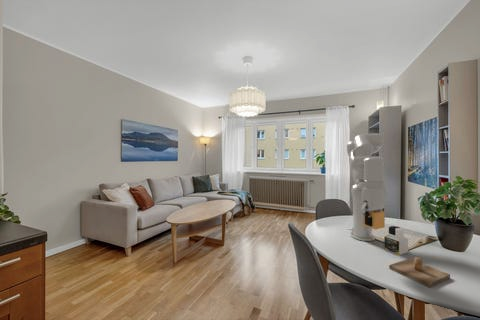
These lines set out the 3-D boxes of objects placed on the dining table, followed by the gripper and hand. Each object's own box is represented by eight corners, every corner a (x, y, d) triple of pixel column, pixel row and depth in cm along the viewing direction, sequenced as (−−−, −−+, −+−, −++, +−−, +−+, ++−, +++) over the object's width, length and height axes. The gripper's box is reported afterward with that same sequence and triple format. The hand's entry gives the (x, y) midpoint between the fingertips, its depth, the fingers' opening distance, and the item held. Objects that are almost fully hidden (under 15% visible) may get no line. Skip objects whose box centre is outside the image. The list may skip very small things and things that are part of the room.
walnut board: (389, 268, 88) (389, 254, 88) (409, 261, 94) (409, 248, 93) (429, 287, 75) (429, 271, 75) (450, 278, 81) (450, 263, 81)
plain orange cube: (362, 225, 95) (362, 210, 95) (371, 223, 98) (371, 208, 97) (375, 229, 90) (375, 213, 89) (384, 227, 92) (384, 211, 92)
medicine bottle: (384, 249, 106) (384, 226, 106) (393, 246, 109) (393, 224, 109) (399, 255, 100) (398, 230, 99) (408, 252, 102) (408, 228, 102)
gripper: (377, 182, 100) (377, 218, 100) (352, 185, 93) (352, 224, 94) (394, 184, 93) (394, 223, 93) (368, 187, 86) (368, 230, 87)
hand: (373, 223), depth 94 cm, fingers closed on plain orange cube, 6 cm apart
